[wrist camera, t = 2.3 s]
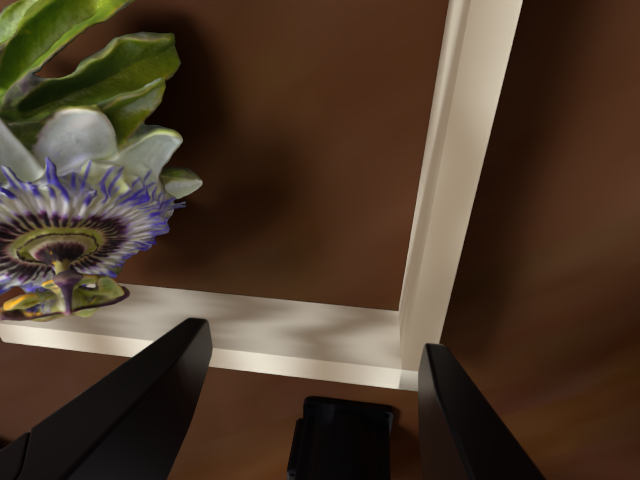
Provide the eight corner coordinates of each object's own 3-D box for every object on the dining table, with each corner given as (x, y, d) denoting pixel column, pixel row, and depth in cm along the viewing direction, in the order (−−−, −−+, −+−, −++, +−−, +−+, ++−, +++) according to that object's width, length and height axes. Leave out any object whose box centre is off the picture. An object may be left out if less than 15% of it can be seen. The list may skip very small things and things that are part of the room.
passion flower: (202, 159, 28) (92, 347, 23) (9, 36, 23) (-186, 241, 18) (287, 64, 17) (117, 377, 12) (-39, -203, 12) (-555, 135, 7)
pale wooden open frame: (526, -185, 13) (585, -258, 9) (419, 332, 25) (426, 392, 21) (-136, -174, 16) (-304, -229, 12) (55, 293, 28) (3, 341, 24)
